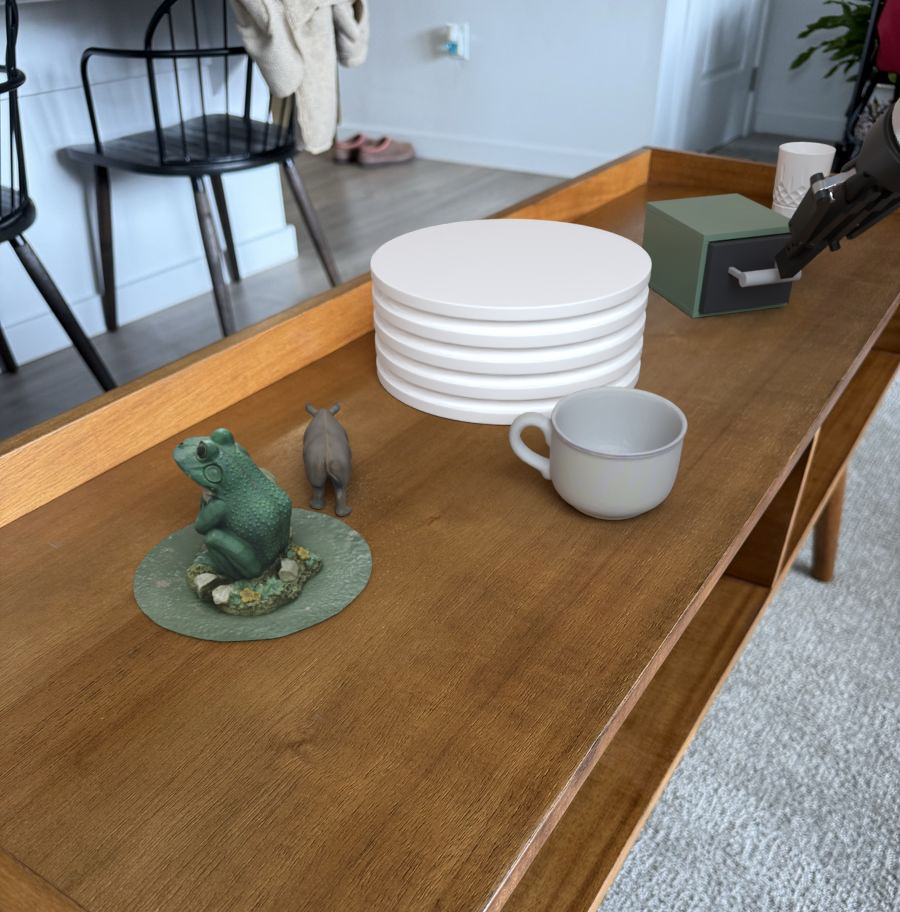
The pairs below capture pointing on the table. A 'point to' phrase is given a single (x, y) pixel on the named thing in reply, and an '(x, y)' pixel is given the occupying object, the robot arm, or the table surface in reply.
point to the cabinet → (699, 242)
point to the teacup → (608, 449)
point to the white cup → (798, 173)
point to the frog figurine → (247, 555)
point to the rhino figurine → (327, 457)
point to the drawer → (744, 274)
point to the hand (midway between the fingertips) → (783, 266)
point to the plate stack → (507, 316)
